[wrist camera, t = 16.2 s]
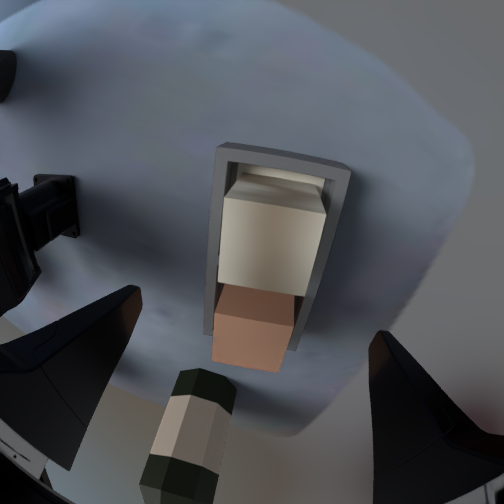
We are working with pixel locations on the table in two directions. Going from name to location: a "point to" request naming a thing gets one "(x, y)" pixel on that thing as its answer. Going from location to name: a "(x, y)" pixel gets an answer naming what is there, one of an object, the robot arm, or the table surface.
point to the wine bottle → (190, 441)
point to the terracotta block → (252, 327)
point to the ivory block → (270, 234)
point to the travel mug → (6, 72)
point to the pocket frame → (281, 166)
